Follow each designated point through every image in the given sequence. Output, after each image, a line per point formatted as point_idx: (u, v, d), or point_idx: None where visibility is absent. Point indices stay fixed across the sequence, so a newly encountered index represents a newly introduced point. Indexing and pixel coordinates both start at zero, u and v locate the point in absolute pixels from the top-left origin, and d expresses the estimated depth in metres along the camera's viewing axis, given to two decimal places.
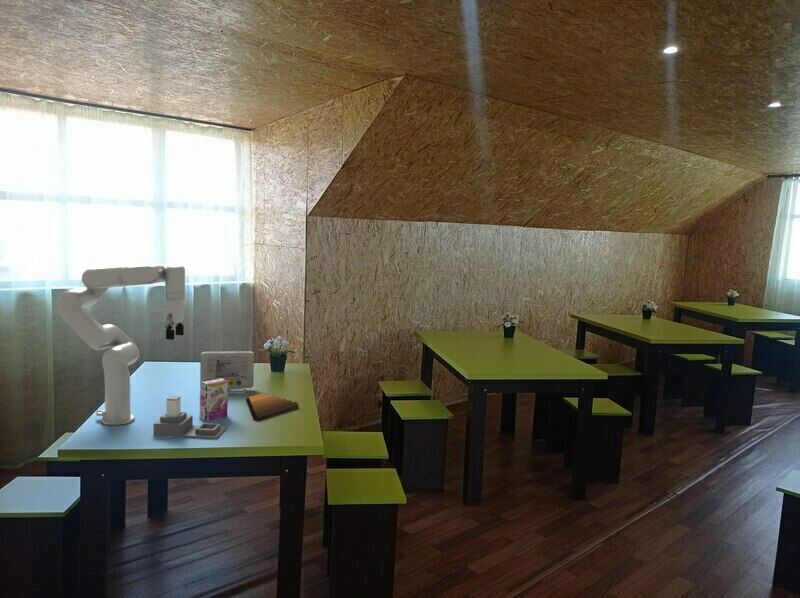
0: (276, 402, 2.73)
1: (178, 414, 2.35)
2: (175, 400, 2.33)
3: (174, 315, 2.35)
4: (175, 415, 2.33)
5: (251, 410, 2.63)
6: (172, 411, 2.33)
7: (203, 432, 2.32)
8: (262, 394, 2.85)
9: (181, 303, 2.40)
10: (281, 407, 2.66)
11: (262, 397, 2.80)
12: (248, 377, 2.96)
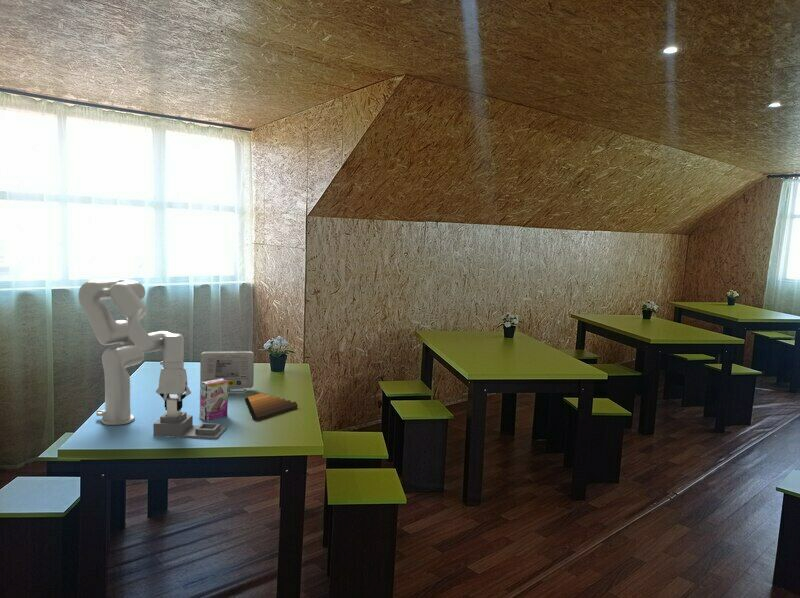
0: (275, 402, 2.73)
1: (179, 413, 2.36)
2: (175, 400, 2.33)
3: None
4: (176, 414, 2.34)
5: (250, 410, 2.63)
6: (172, 410, 2.34)
7: (203, 432, 2.32)
8: (261, 394, 2.85)
9: None
10: (280, 407, 2.66)
11: (261, 397, 2.80)
12: (248, 377, 2.96)
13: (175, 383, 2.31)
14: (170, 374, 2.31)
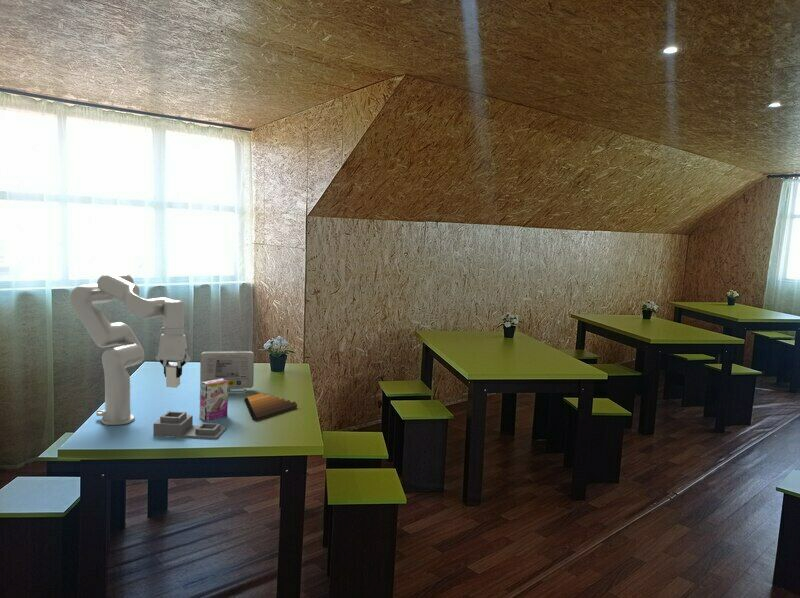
0: (275, 402, 2.73)
1: (178, 380, 2.34)
2: (174, 367, 2.31)
3: (186, 349, 2.34)
4: (175, 382, 2.32)
5: (250, 410, 2.63)
6: (172, 378, 2.32)
7: (203, 432, 2.32)
8: (260, 394, 2.85)
9: None
10: (280, 407, 2.66)
11: (260, 397, 2.80)
12: (248, 377, 2.96)
13: (175, 349, 2.30)
14: (170, 340, 2.29)
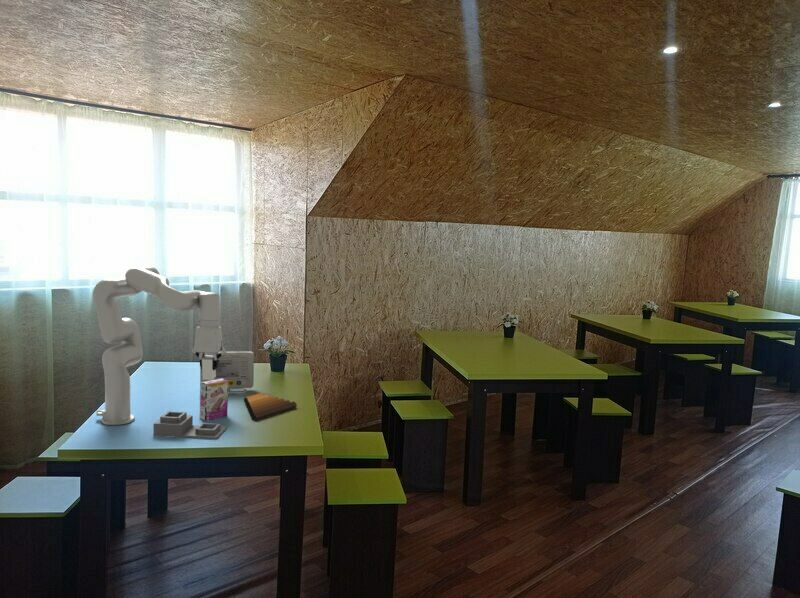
0: (274, 402, 2.73)
1: (214, 373, 2.34)
2: (210, 359, 2.30)
3: None
4: (211, 374, 2.32)
5: (249, 410, 2.63)
6: (208, 370, 2.31)
7: (203, 432, 2.32)
8: (259, 394, 2.84)
9: None
10: (279, 407, 2.66)
11: (260, 397, 2.80)
12: (248, 377, 2.96)
13: (211, 342, 2.29)
14: (206, 332, 2.29)
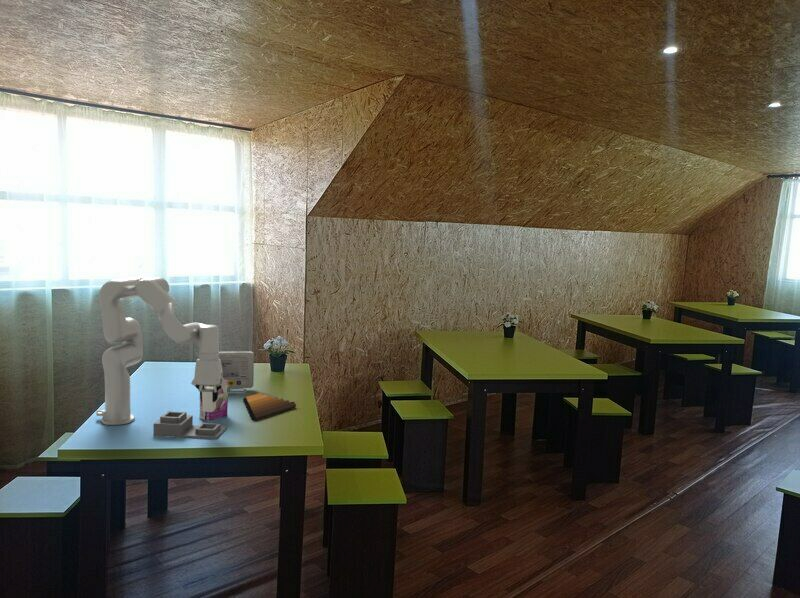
0: (274, 402, 2.73)
1: (214, 404, 2.35)
2: (210, 391, 2.32)
3: None
4: (211, 406, 2.33)
5: (249, 410, 2.62)
6: (208, 402, 2.33)
7: (203, 432, 2.32)
8: (259, 394, 2.84)
9: None
10: (279, 407, 2.66)
11: (259, 397, 2.80)
12: (248, 377, 2.96)
13: (211, 374, 2.30)
14: (206, 365, 2.30)
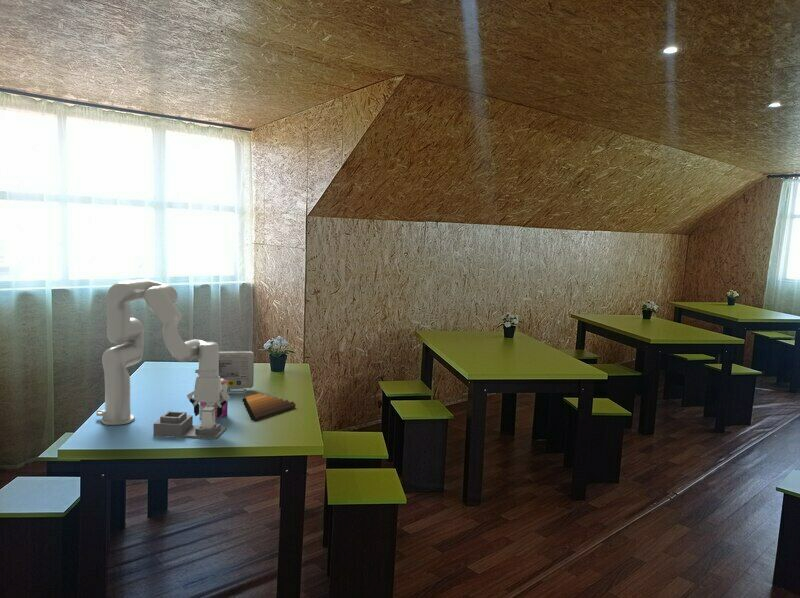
0: (273, 402, 2.73)
1: (213, 425, 2.36)
2: (210, 411, 2.34)
3: None
4: (210, 426, 2.34)
5: (248, 410, 2.62)
6: (207, 422, 2.34)
7: (203, 432, 2.32)
8: (258, 394, 2.84)
9: None
10: (278, 407, 2.66)
11: (259, 397, 2.80)
12: (248, 377, 2.96)
13: (210, 391, 2.31)
14: (206, 382, 2.31)
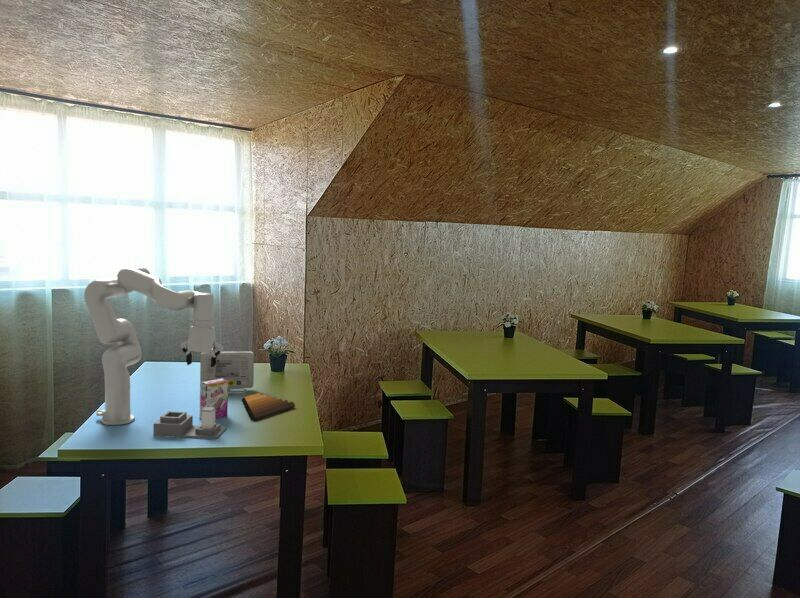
0: (272, 402, 2.73)
1: (213, 425, 2.36)
2: (210, 411, 2.34)
3: (215, 341, 2.37)
4: (210, 426, 2.34)
5: (248, 410, 2.62)
6: (207, 422, 2.34)
7: (203, 432, 2.32)
8: (257, 394, 2.84)
9: None
10: (278, 407, 2.66)
11: (258, 397, 2.80)
12: (248, 377, 2.96)
13: (204, 341, 2.33)
14: (199, 332, 2.33)
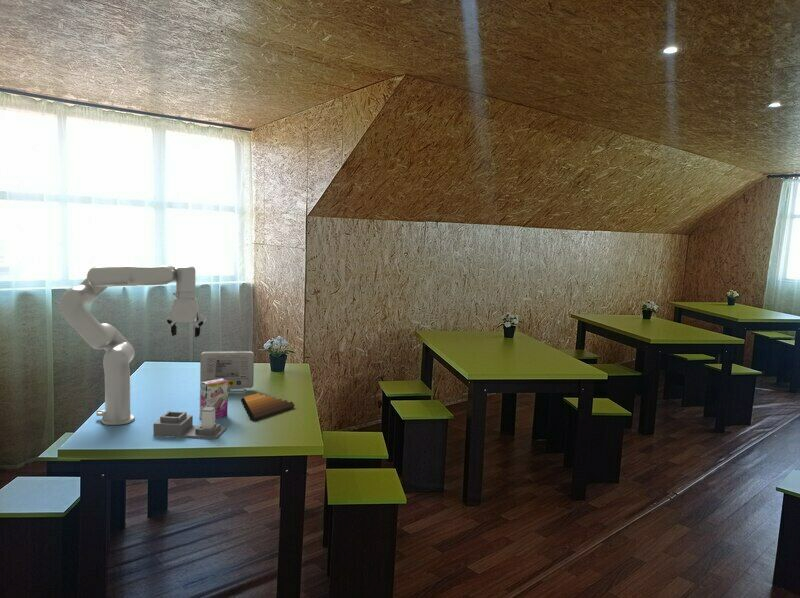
0: (272, 402, 2.73)
1: (213, 425, 2.36)
2: (210, 411, 2.34)
3: (198, 312, 2.47)
4: (210, 426, 2.34)
5: (247, 410, 2.62)
6: (207, 422, 2.34)
7: (203, 432, 2.32)
8: (256, 394, 2.84)
9: None
10: (277, 407, 2.66)
11: (257, 397, 2.80)
12: (248, 377, 2.96)
13: (187, 312, 2.43)
14: (183, 303, 2.43)
